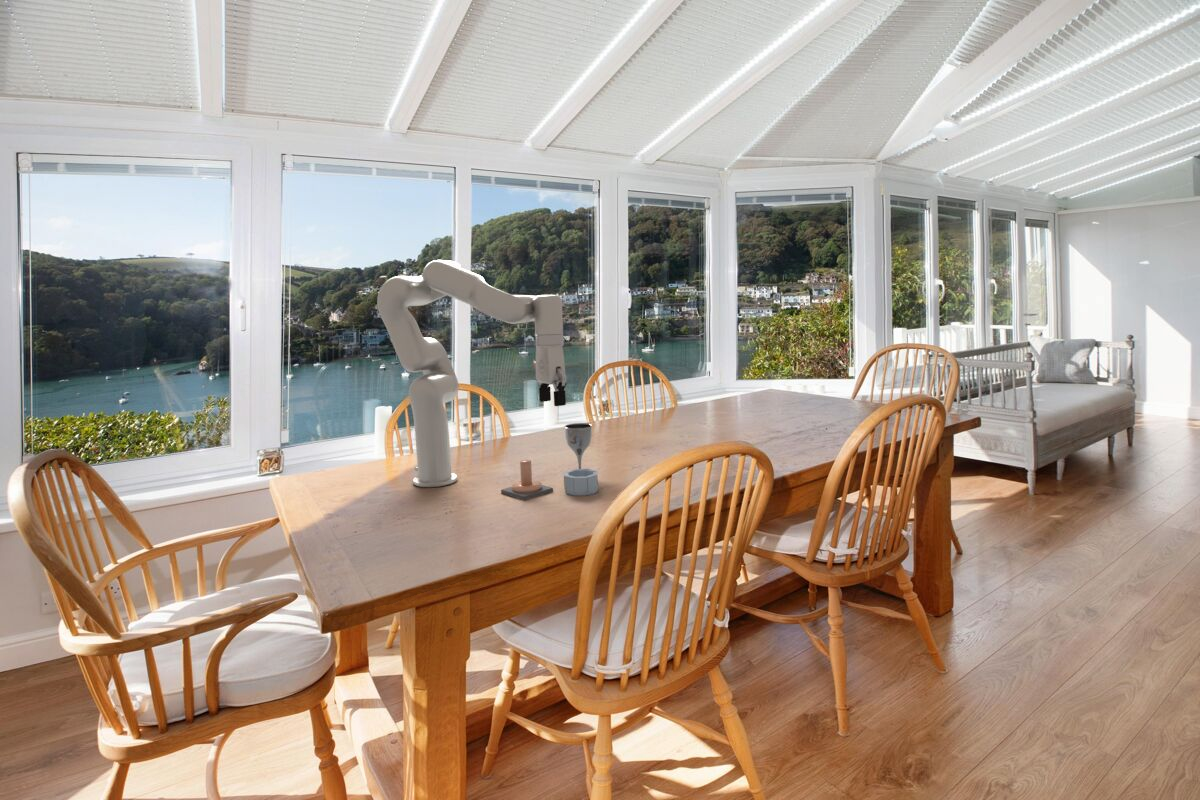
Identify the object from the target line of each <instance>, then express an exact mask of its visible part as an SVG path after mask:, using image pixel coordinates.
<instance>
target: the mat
mask: <svg viewBox="0 0 1200 800" xmlns="http://www.w3.org/2000/svg"><path fill="white" fill-rule="evenodd" d="M500 492H501V494H504V495H506V496H510V497H514V498H515V499H519V500H522V501H526V500H529V499H533V498H537V497H539V496H543V495H546V494H549V493H552V492H554V488H553V487H552V486H551V487H550V486H549V485H543V484H542V489H541V490H539V491H536V492H531V493H517V492H514V491H513V490H512V486H509V487H506V488H503V489H501V490H500Z"/></svg>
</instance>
